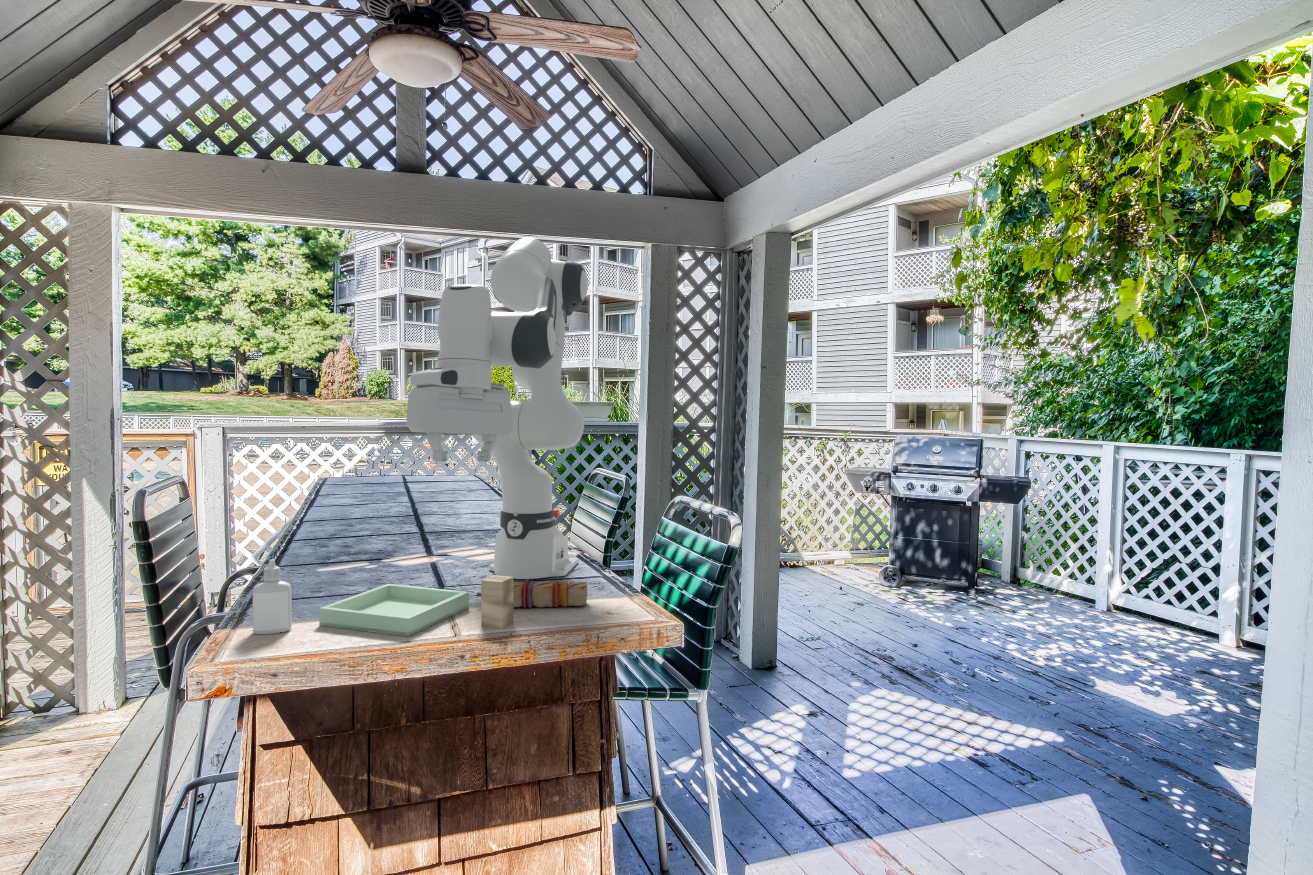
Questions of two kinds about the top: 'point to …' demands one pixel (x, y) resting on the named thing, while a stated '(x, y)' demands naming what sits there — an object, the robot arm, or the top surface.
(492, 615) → the birch block
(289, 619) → the eye dropper bottle
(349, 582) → the top surface
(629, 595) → the top surface
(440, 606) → the tray
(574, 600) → the skewer
